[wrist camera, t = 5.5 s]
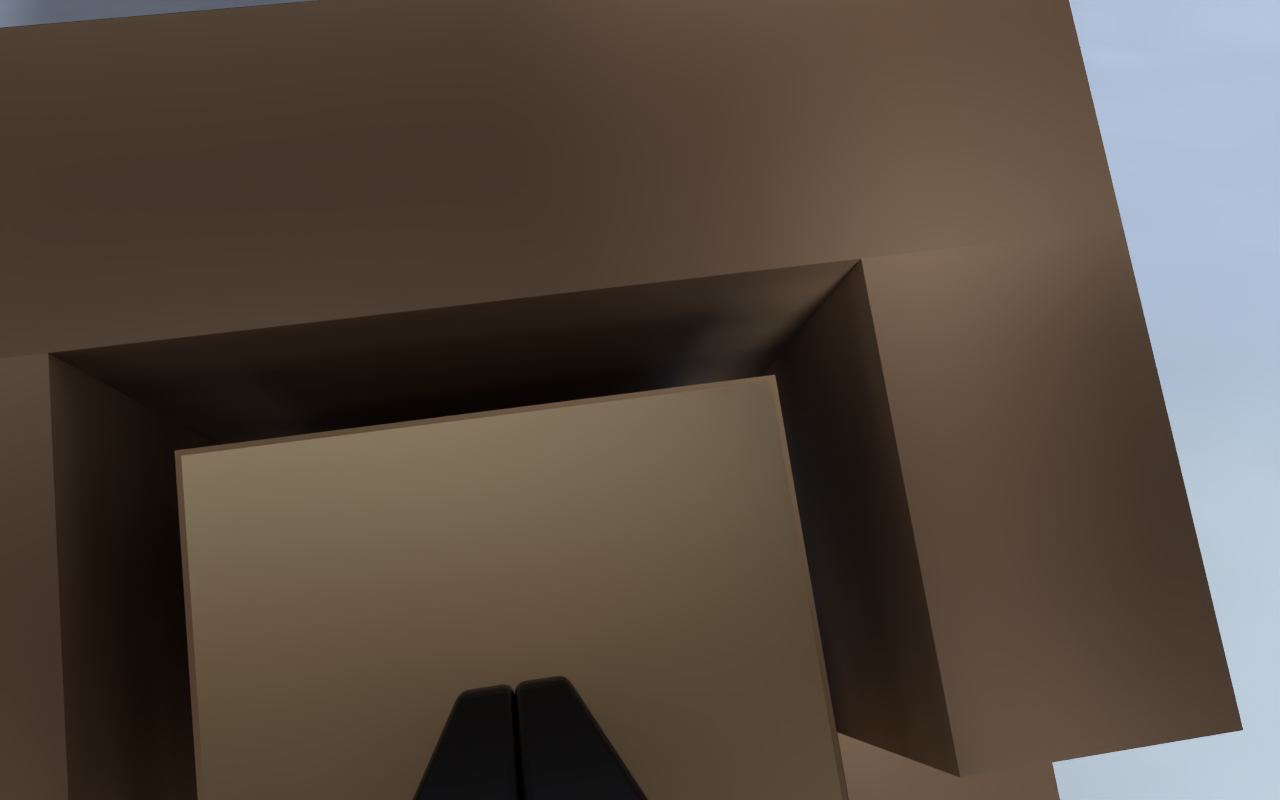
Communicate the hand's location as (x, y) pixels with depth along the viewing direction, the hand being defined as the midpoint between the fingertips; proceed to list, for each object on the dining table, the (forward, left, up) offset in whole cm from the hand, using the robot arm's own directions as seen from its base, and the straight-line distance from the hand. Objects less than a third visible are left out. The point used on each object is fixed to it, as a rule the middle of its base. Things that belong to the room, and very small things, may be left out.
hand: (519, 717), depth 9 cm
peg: (0, 0, -7) cm, 7 cm away
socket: (0, 0, -7) cm, 7 cm away
